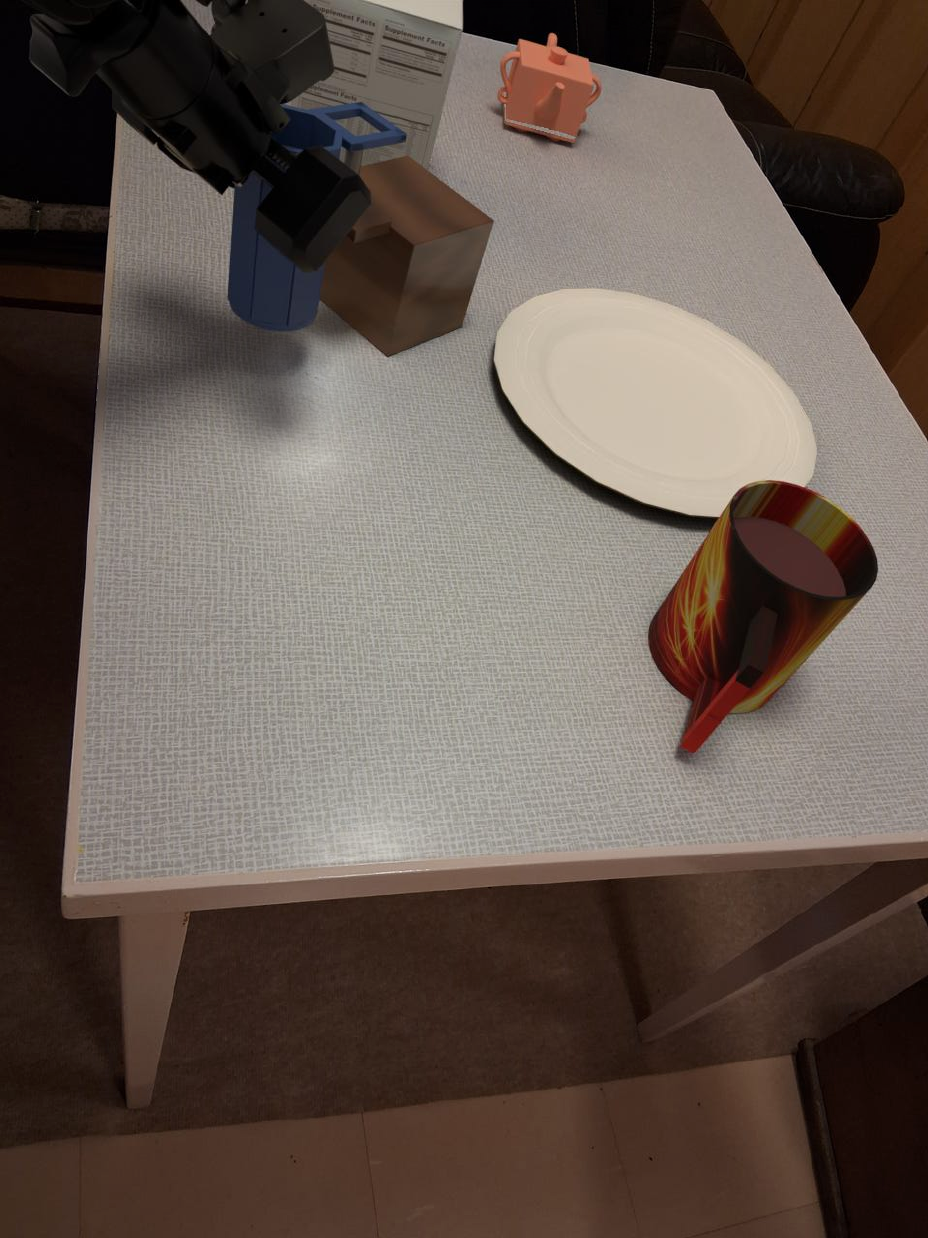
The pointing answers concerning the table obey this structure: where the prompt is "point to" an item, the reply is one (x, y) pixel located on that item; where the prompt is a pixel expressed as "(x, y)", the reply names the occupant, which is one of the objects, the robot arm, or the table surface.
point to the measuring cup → (257, 270)
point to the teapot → (547, 88)
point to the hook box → (406, 257)
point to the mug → (758, 600)
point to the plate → (650, 399)
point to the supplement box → (390, 68)
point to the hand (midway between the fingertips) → (298, 217)
